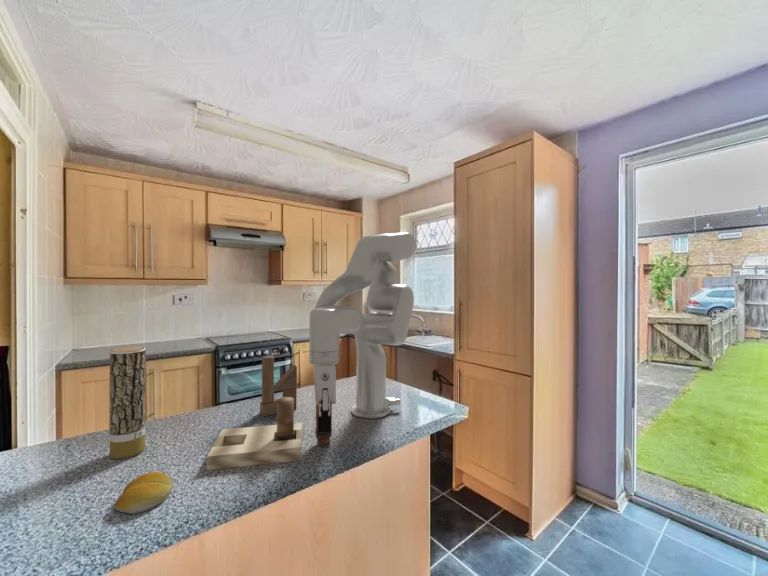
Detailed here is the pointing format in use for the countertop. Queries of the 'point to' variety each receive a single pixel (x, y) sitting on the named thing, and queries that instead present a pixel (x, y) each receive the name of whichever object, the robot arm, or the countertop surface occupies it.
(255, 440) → the socket board
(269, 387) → the brown wooden angled piece
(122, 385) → the paper tube
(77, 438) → the countertop surface
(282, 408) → the seated peg
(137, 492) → the bread roll
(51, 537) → the countertop surface
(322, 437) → the walnut peg
